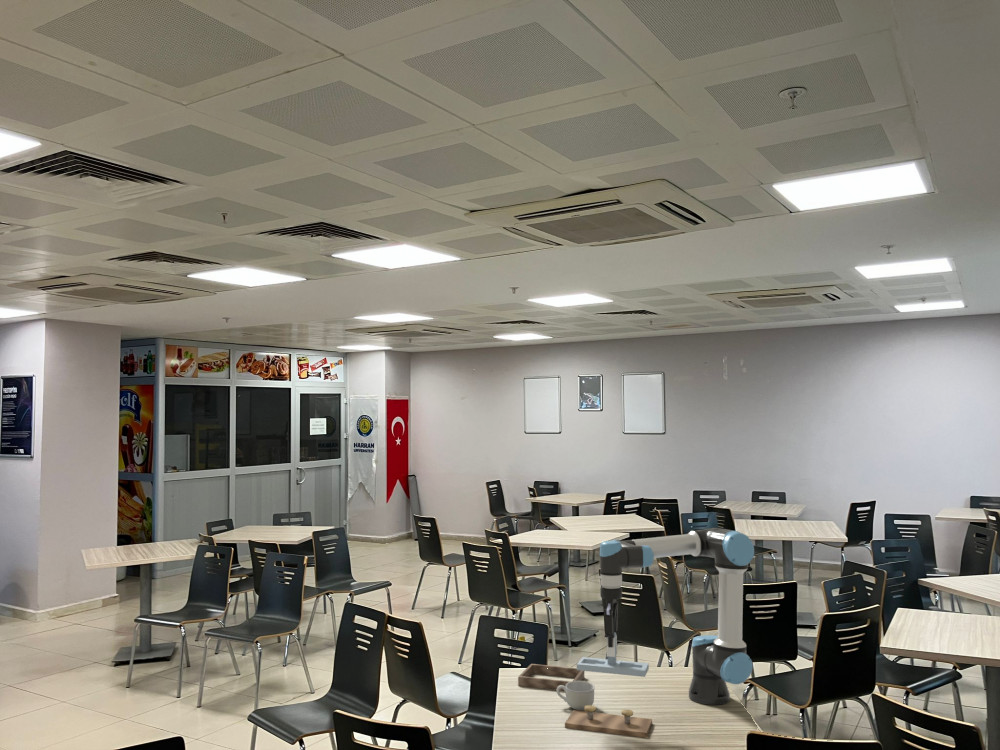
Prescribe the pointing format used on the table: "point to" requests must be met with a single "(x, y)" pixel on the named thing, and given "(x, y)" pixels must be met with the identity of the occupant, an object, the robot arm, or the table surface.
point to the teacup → (578, 694)
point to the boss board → (609, 722)
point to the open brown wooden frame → (529, 681)
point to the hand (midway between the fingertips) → (612, 654)
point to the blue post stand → (613, 665)
